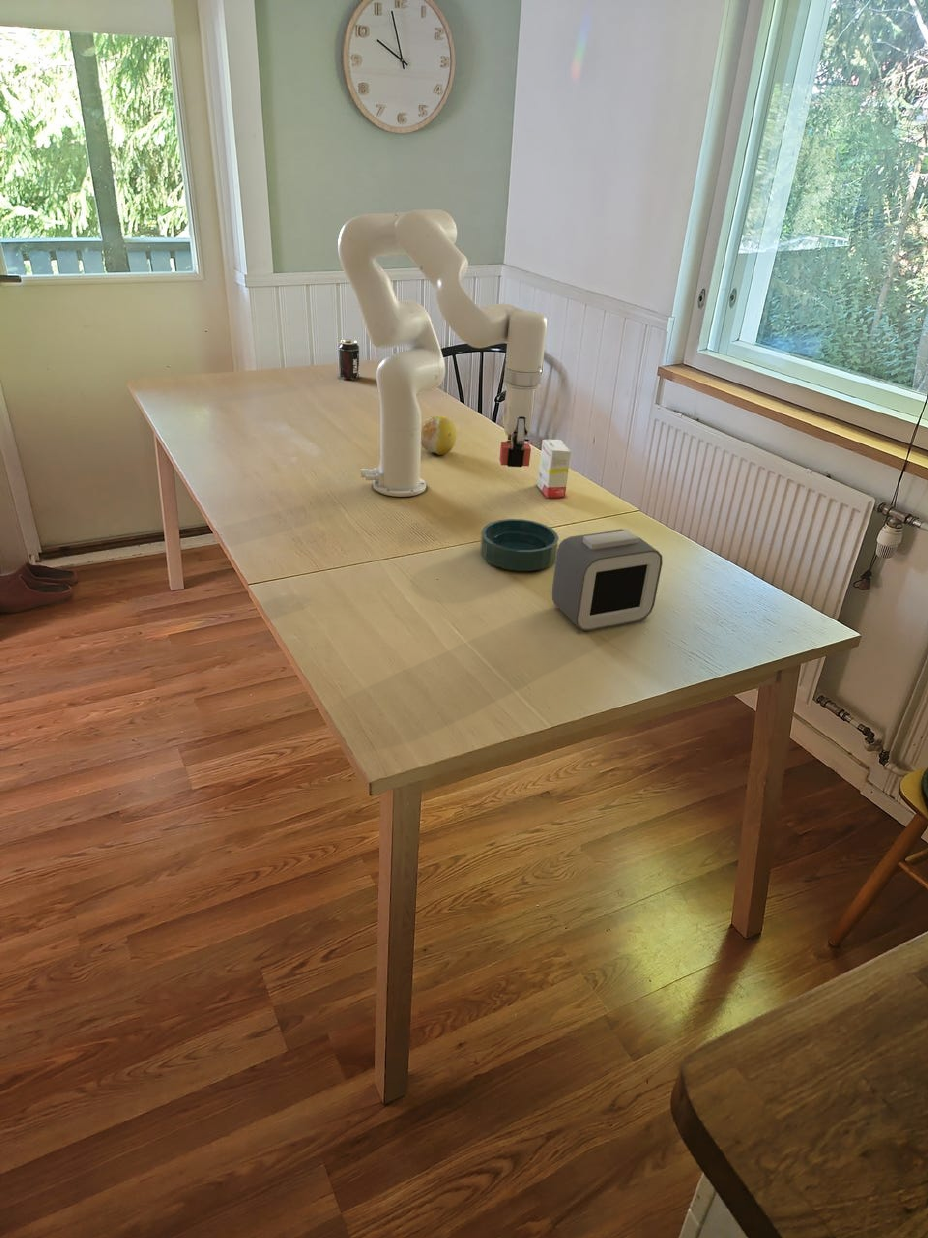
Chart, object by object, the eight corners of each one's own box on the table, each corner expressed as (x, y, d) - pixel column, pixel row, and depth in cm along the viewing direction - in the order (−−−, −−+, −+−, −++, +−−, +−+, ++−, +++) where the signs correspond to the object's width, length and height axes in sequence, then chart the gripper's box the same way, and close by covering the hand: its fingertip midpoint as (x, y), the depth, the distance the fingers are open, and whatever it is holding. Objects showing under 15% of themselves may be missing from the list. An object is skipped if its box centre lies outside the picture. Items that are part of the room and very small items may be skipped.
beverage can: (336, 379, 280) (335, 342, 274) (342, 374, 286) (341, 338, 279) (356, 381, 279) (355, 344, 273) (361, 376, 285) (361, 340, 279)
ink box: (566, 498, 202) (572, 450, 196) (546, 498, 201) (552, 451, 195) (555, 484, 209) (561, 438, 203) (536, 485, 208) (541, 438, 202)
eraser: (500, 465, 177) (502, 447, 175) (499, 459, 180) (501, 441, 178) (528, 466, 178) (530, 448, 175) (526, 460, 180) (528, 442, 178)
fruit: (436, 443, 230) (438, 407, 225) (463, 454, 224) (466, 418, 219) (408, 451, 224) (409, 414, 219) (435, 462, 218) (437, 425, 213)
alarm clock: (574, 633, 148) (586, 554, 140) (544, 603, 157) (553, 527, 149) (651, 619, 154) (666, 542, 146) (618, 590, 163) (630, 516, 155)
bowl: (484, 573, 166) (485, 551, 163) (477, 539, 179) (478, 518, 177) (561, 575, 167) (564, 552, 165) (548, 541, 181) (551, 519, 178)
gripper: (500, 364, 176) (492, 448, 185) (508, 387, 162) (499, 476, 171) (535, 366, 177) (526, 450, 186) (546, 389, 163) (535, 478, 172)
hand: (513, 462), depth 179 cm, fingers closed on eraser, 3 cm apart
